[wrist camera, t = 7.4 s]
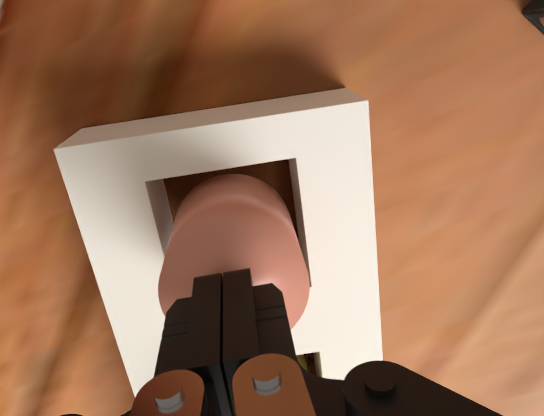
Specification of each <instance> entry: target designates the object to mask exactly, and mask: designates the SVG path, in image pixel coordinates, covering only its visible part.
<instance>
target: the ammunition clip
mask: <svg viewBox="0 0 544 416" xmlns="http://www.w3.org/2000/svg"><path fill="white" fill-rule="evenodd" d="M523 15H524V16H525V17H526V18H527V19H528V20H529V21H530V22H531V23H532V24H533V25H534V26H536V27H537V28H538V29H539V30H540V31H541V32H542V33H543V34H544V0H531V1H530V3H529V4H528V5H527V6H526V8H525V9H524V10H523Z"/></svg>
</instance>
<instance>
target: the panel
mask: <svg viewBox="0 0 544 416" xmlns="http://www.w3.org/2000/svg"><path fill="white" fill-rule="evenodd" d="M54 153H55V156H56V159H57V162H58V165H59V168H60V171H61V174H62V177H63V180H64V183H65V186H66V189H67V192H68V195H69V198H70V201H71V204H72V207H73V210H74V213H75V217H76V220H77V223H78V226H79V229H80V232H81V235H82V238H83V241H84V244H85V247H86V250H87V253H88V256H89V259H90V262H91V265H92V268H93V271H94V274H95V277H96V281H97V284H98V287H99V290H100V293H101V296H102V299H103V302H104V305H105V308H106V311H107V314H108V317H109V320H110V323H111V326H112V329H113V332H114V335H115V338H116V341H117V344H118V348H119V351H120V354H121V357H122V360H123V363H124V366H125V369H126V372H127V375H128V378H129V381H130V384H131V387H132V390H133V393H134V396H135V397H136V395H137V393H138V392H139V390H140V389H141V388H142V387H143V385H145V384H146V383H147V382H148V381H149V380H151V379H152V378H154V373H155V367H156V362H157V357H158V352H159V347H160V342H161V340H162V332H163V328H164V322H165V316H164V314H163V312H162V309H161V306H160V303H159V298H158V282H159V276H160V273H161V269H162V265H163V262H164V258H165V254H166V250H167V247H168V243H169V239H170V236H171V232H172V228H173V224H174V222H173V218H172V214H171V210H170V206H169V201H168V197H167V193H166V189H165V185H164V181H163V179H164V178H171V177H177V176H183V175H190V174H196V173H202V172H209V171H215V170H221V169H228V168H234V167H240V166H247V165H253V164H259V163H266V162H272V161H278V160H285V159H289V167H290V174H291V182H292V190H293V198H294V206H295V214H296V221H297V229H298V237H299V245H300V249H301V252H302V255H303V258H304V261H305V264H306V268H307V271H308V276H309V283H310V290H309V298H308V302H307V305H306V308H305V310H304V312H303V314H302V316H301V318H300V319H299V321H298V322H297V323H296V325H295V326H294V327H293V328H292V329H291V334H292V339H293V343H294V348H295V353H296V355H301V354H307V353H313V354H314V362H315V370H316V376H319V377H322V378H328V379H339V380H344V379H345V377H346V375H347V374H348V372H349V371H350V370H351V369H353V368H354V367H356V366H357V365H359V364H362V363H365V362H369V361H383V356H382V338H381V320H380V302H379V285H378V267H377V249H376V231H375V213H374V196H373V178H372V160H371V142H370V124H369V107H368V100H367V99H365V98H363V97H361V96H360V95H358V94H356V93H354V92H352V91H351V90H349V89H347V88H341V89H335V90H328V91H322V92H315V93H309V94H302V95H296V96H289V97H283V98H276V99H270V100H263V101H257V102H250V103H244V104H237V105H231V106H224V107H218V108H211V109H205V110H198V111H192V112H185V113H179V114H172V115H166V116H159V117H153V118H146V119H140V120H133V121H127V122H120V123H114V124H107V125H101V126H94V127H88V128H82V129H80V130H79V131H77V132H76V133H75V134H73V135H72V136H71V137H69V138H68V139H66V140H65V141H64V142H62V143H61V144H60V145H58V146H57V147H56V148H54Z"/></svg>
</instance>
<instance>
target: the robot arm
mask: <svg viewBox="0 0 544 416" xmlns="http://www.w3.org/2000/svg"><path fill="white" fill-rule="evenodd" d="M61 416H82V415H78V414H66V415H61ZM121 416H502V415H500V414H498V413H496V412H494V411H492V410H490V409H488V408H486V407H484V406H482V405H480V404H478V403H476V402H474V401H472V400H470V399H468V398H466V397H464V396H462V395H460V394H458V393H456V392H454V391H452V390H450V389H448V388H446V387H444V386H442V385H439V384H437V383H435V382H433V381H431V380H429V379H427V378H425V377H423V376H421V375H419V374H417V373H415V372H413V371H411V370H409V369H407V368H405V367H403V366H401V365H398V364H396V363H393V362H389V361H369V362H365V363H362V364H359V365H357V366H356V367H354V368H353V369H351V370H350V371H349V372H348V374H347V375H346V377H345V379H344V380H339V379H328V378H322V377H319V376H316V375H313V374H311V373H310V372H308V371H306V370H305V369H304V368H303V367H302V366H301V365H300V363H299V362H298V360H297V357H296V353H295V348H294V343H293V339H292V334H291V330H290V325H289V320H288V316H287V311H286V307H285V302H284V297H283V293H282V291H281V290H279V289H278V288H277V287H276V286H275V285H274V284H273V283H268V284H262V285H257V286H253V281H252V275H251V270H250V268H246V269H240V270H234V271H228V272H223V276H222V273H217V274H211V275H205V276H199V277H194V280H193V289H192V297H187V298H181V299H176V301H175V302H174V303H173V304H172V306H171V307H170V308H169V309H168V311H167V312H166V317H165V322H164V328H163V332H162V340H161V342H160V347H159V352H158V357H157V362H156V367H155V373H154V378H152V379H151V380H149V381H148V382H147V383H146V384H145V385H143V387H142V388H141V389H140V390H139V392H138V393H137V395H136V397H135V400H134V403H133V406H132V409H131V410H130V411H128V412H127V413H125V414H123V415H121Z"/></svg>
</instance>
